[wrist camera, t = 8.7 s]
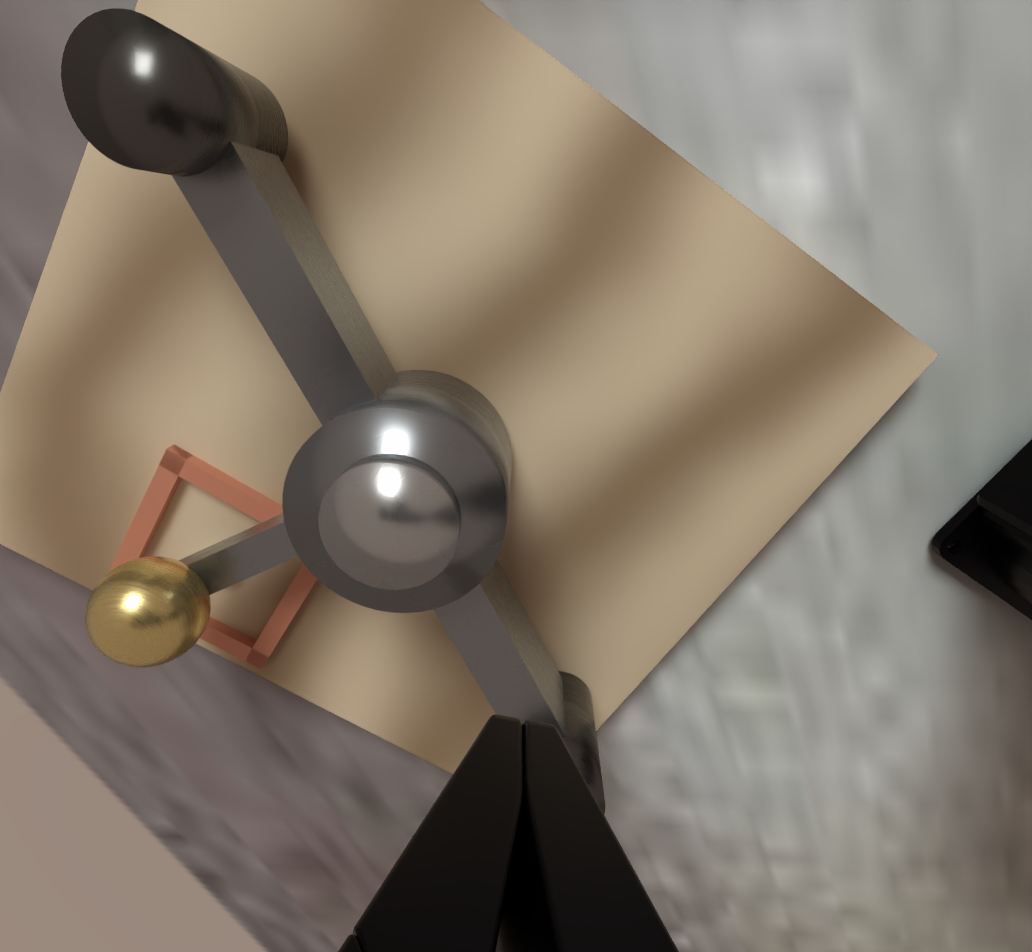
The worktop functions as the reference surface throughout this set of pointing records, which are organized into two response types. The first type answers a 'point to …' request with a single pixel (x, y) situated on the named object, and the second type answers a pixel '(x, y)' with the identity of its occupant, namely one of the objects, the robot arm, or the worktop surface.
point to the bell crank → (315, 399)
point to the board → (449, 353)
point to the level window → (244, 499)
